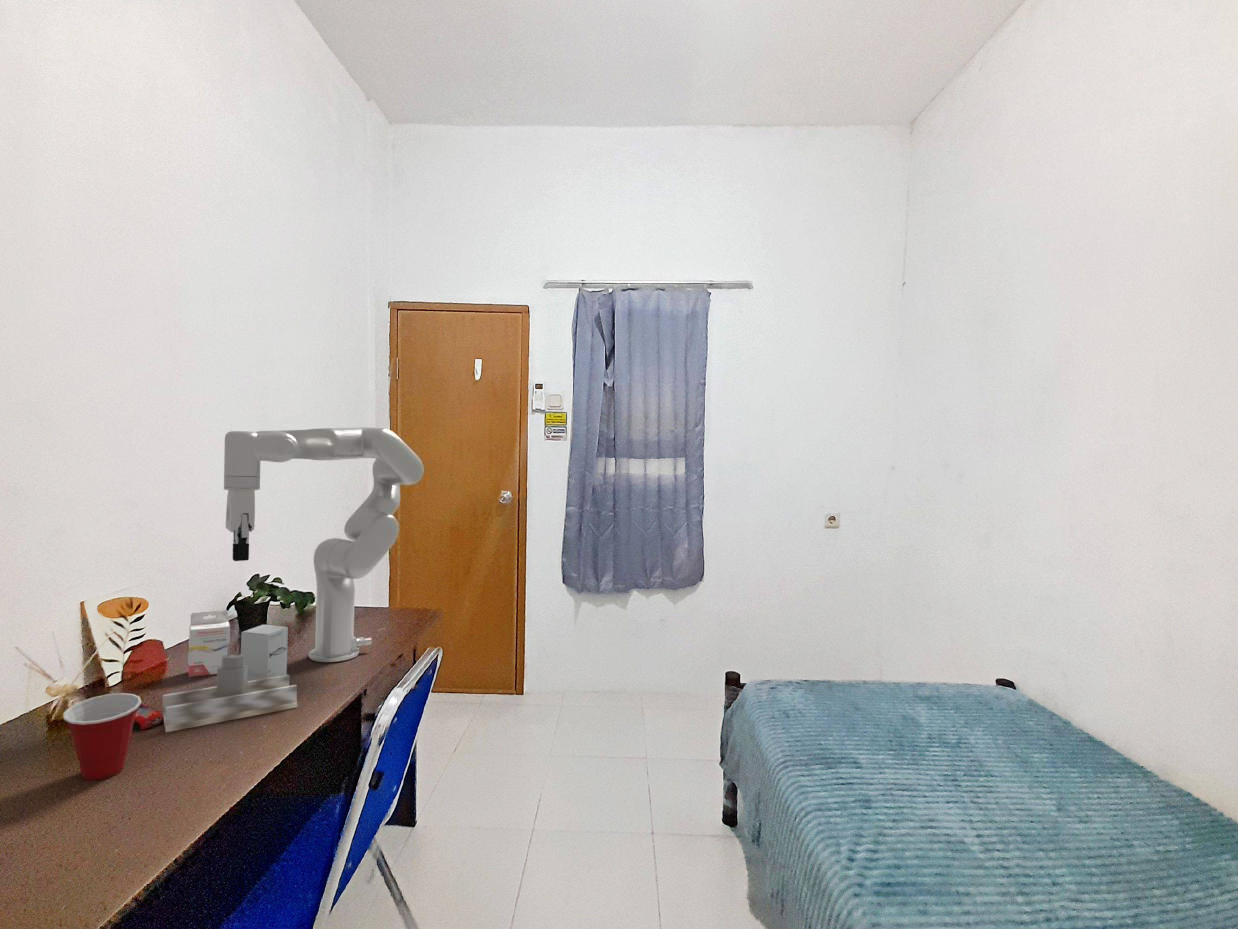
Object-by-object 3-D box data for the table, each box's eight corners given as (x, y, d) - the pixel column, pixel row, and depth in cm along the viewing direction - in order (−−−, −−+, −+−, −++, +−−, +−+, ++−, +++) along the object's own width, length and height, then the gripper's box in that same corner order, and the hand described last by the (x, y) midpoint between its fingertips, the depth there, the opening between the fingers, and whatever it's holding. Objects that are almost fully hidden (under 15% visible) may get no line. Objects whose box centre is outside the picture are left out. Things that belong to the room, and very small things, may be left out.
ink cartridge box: (188, 678, 164) (189, 617, 163) (188, 671, 168) (189, 612, 167) (229, 672, 168) (230, 613, 168) (228, 666, 173) (229, 609, 172)
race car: (168, 723, 139) (169, 704, 139) (144, 734, 134) (144, 714, 134) (117, 714, 143) (118, 695, 143) (92, 724, 137) (92, 704, 137)
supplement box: (266, 687, 160) (267, 634, 159) (238, 684, 161) (240, 631, 161) (287, 677, 167) (288, 626, 166) (261, 674, 168) (262, 623, 168)
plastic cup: (45, 789, 112) (46, 717, 112) (89, 758, 123) (89, 693, 122) (116, 788, 113) (117, 717, 113) (153, 758, 124) (154, 693, 124)
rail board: (287, 692, 157) (287, 673, 157) (297, 707, 149) (297, 687, 149) (162, 715, 142) (162, 693, 142) (165, 732, 134) (166, 709, 134)
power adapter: (221, 697, 147) (222, 642, 147) (248, 697, 148) (249, 643, 147) (215, 703, 144) (216, 647, 144) (242, 703, 145) (243, 647, 144)
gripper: (219, 481, 165) (218, 556, 166) (228, 485, 153) (227, 566, 154) (254, 481, 170) (252, 554, 170) (265, 485, 158) (264, 564, 159)
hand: (240, 560), depth 162 cm, fingers closed
